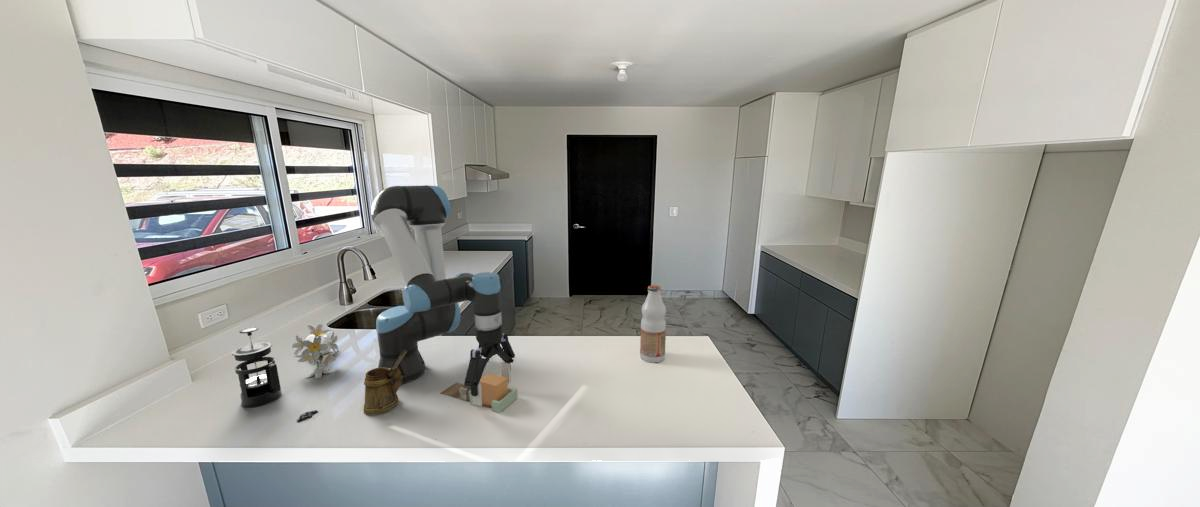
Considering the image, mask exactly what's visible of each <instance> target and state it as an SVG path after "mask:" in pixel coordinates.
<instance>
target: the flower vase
mask: <svg viewBox="0 0 1200 507" xmlns="http://www.w3.org/2000/svg"><path fill="white" fill-rule="evenodd" d="M307 328H308V330H309V335H308V336H306V338H305V339H304V340H303V338H302V337H300V336H299V334H296V335H295V340H296V342H295V343H293V344H292V346H291V348H292V349H293V350H295V351H294V353H293V358H298V360H297V362H298V363H304V362H307V361H308V363H309V364H310V365H312V366H316V368H314V370H312V371H311V372H310V373H309V374H307V375H306V376H305V379H308V378H310V377H311V378H312V377H313V376H314V378H315V379H321V377H322V376H323V374H332V373H333V371H332V370H330V367H327V366H328V362H329V363H333V362H336V360H337V358H336V355H337V354H338V353H339V352H340V349H339V346H338V344H337V343H336V342H337V341H338V335H335V331H334V330H333V331H332V330H329V329H324V325H323V324H318V325H316V327H314V326H313V325H311V324H310V325H307ZM303 349H304V350H303ZM302 350H303V351H302ZM331 350H332V351H333V352H330V351H331ZM301 351H302V352H301ZM300 352H301V354H300ZM299 354H300V355H299ZM321 356H322V357H323V358H322V360H320V359H319V358H320V357H321ZM319 363H320V364H319ZM321 366H322V367H321Z"/></svg>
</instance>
